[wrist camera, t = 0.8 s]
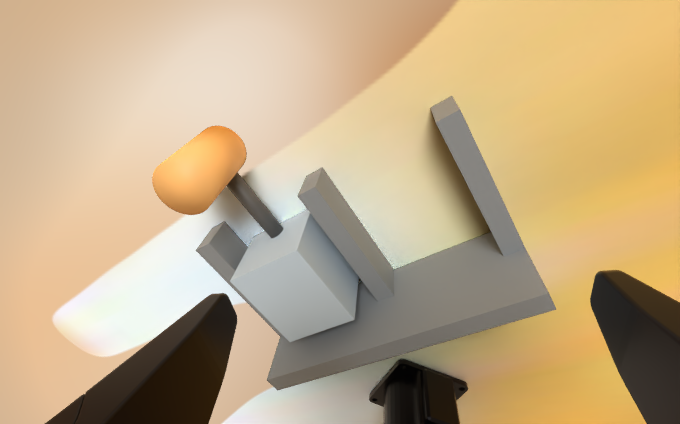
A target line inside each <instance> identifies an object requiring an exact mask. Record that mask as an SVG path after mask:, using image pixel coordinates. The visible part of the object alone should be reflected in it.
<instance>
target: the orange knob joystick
mask: <svg viewBox="0 0 680 424" xmlns="http://www.w3.org/2000/svg"><path fill="white" fill-rule="evenodd" d="M245 160H246V148H245V145H244V143H243V141H242V139H241V138H240V137H239V136H238V135H237V134H236V133H235V132H233V131H232V130H230V129H229V128H226V127H222V126H211V127H209V128H207V129H205V130H204V131H202V132H201V133H200V134H199V135H197V136H196V137H195V138H193V139H192V140H191V141H190V142H188V143H187V144H186V145H184V146H183V147H182V148H181V149H179V150H178V151H177V152H175V153H174V154H173V155H171V156H170V157H169V158H168V159H166V160H165V161H164V162H162V163H161V164H160V165H159V166H158V167H157V168H156V169H155V171H154V173H153V177H152V181H153V187H154V190H155V192H156V194H157V196H158V197H159V198H160V199H161V201H162V202H163V203H165V204H166V205H167V206H168V207H169V208H171V209H173V210H175V211H177V212H179V213H183V214H187V215H195V214H200V213H202V212H204V211H205V210H207V209H208V208H209V206H210V205H211V204H212V203H213V201H214V200H215V199H216V198H217V197H218V195H219V194H220V193H221V192H222V190H223V189H224V188H225V187H226V186H227V187H228V188H229V189H230V190H231V192H232V193H233V194H234V195H235V196H236V198H237V199H238V200H239V201H240V202H241V203H242V205H243V206H244V207H245V208H246V209H247V210H248V212H249V213H250V214H251V215H252V216H253V217H254V219H255V220H256V221H257V222H258V223H259V224H260V226H261V227H262V228H263V229H264V230H265V231H264V232H262V233H260V234H258V235H256V236H254V237H253V239H252V241H251V243H250V245H249V247H248V249H247V250H246V252H245V254H244V256H243V258H242V260H241V262H240V263H239V265H238V267H237V269H236V271H235V273H234V275H233V276H232V278H231V280H230V282H231V283H232V284H233V285H234V286H235V287H236V288H237V289H238V290H239V291H240V292H241V293H242V294H243V295H244V296H245V297H246V298H247V299H248V300H249V301H250V302H251V303H252V304H253V305H254V306H255V307H256V308H257V309H258V310H259V311H260V312H261V313H262V314H263V315H264V317H265V318H266V319H267V320H268V321H269V322H270V323H271V324H272V325H273V326H274V327H275V328H276V329H277V330H278V331H279V332H280V333H281V334H282V335H283V336H284V337H285V338H286V339H287V340H288V341H289V342H292V341H295V340H298V339H301V338H304V337H306V336H309V335H312V334H315V333H318V332H321V331H324V330H327V329H329V328H332V327H335V326H338V325H341V324H344V323H347V322H349V321H352V320H355V310H356V300H357V290H358V280H359V276H358V275H357V274H356V272H355V271H354V270H353V268H352V267H351V266H350V264H349V263H348V262H347V260H346V259H345V258H344V256H343V255H342V254H341V252H340V251H339V250H338V249H337V247H336V246H335V245H334V243H333V242H332V241H331V239H330V238H329V237H328V235H327V234H326V233H325V231H324V230H323V229H322V227H321V226H320V225H319V224H318V222H317V221H316V220H315V218H314V217H313V216H312V214H311V213H310V212H309V210H308V209H307V210H305V211H303V212H301V213H300V214H298V215H296V216H294V217H292V218H290V219H288V220H286V221H284V222H282V223H280V224H279V222H278V221H277V220H276V219H275V217H274V216H273V215H272V214H271V213H270V211H269V210H268V209H267V208H266V206H265V205H264V204H263V203H262V202H261V200H260V199H259V198H258V197H257V196H256V194H255V193H254V192H253V191H252V189H251V188H250V187H249V186H248V185H247V183H246V182H245V181H244V180H243V178H242V177H241V176H240V175H239V174H238V171H239V169H240V168H241V167H242V166H243V164H244V163H245Z"/></svg>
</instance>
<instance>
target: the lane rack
mask: <svg viewBox="0 0 680 424" xmlns="http://www.w3.org/2000/svg"><path fill="white" fill-rule="evenodd" d="M431 111H432V114H433V117H434V119H435V122H436V124H437V126H438V128H439V130H440V132H441V134H442V136H443V138H444V140H445V142H446V144H447V146H448V148H449V150H450V152H451V154H452V156H453V158H454V160H455V162H456V164H457V166H458V167H459V169H460V171H461V173H462V175H463V177H464V179H465V181H466V183H467V185H468V187H469V189H470V191H471V193H472V195H473V197H474V199H475V201H476V203H477V205H478V207H479V209H480V211H481V213H482V215H483V217H484V219H485V220H486V222H487V224H488V226H489V228H490V230H491V232H489V233H487V234H484V235H482V236H479V237H477V238H474V239H471V240H469V241H466V242H464V243H461V244H459V245H456V246H453V247H451V248H448V249H446V250H443V251H441V252H438V253H436V254H433V255H430V256H428V257H425V258H423V259H420V260H418V261H415V262H412V263H410V264H407V265H405V266H402V267H400V268H397V269H394V270H393V268H392V267H391V265H390V264H389V262H388V261H387V260H386V258H385V257H384V255H383V254H382V252H381V251H380V250H379V248H378V247H377V245H376V244H375V242H374V241H373V239H372V238H371V237H370V235H369V234H368V232H367V231H366V229H365V228H364V227H363V225H362V224H361V222H360V221H359V219H358V218H357V216H356V215H355V214H354V212H353V211H352V209H351V208H350V206H349V205H348V204H347V202H346V201H345V199H344V198H343V196H342V195H341V193H340V192H339V191H338V189H337V188H336V186H335V185H334V183H333V182H332V181H331V179H330V178H329V176H328V175H327V173H326V172H325V171H324V169H323V168H320V169H319V170H317V171H315V172H313V173H311V174H310V175H308V176H306V178H305V180H304V183H303V185H302V187H301V190H300V192H299V194H298V197H299V199H300V200H301V201H302V202H303V204H304V205H305V206H306V208H307V209H308V210H309V212H310V213H311V214H312V216H313V217H314V218H315V220H316V221H317V222H318V224H319V225H320V226H321V227H322V229H323V230H324V231H325V233H326V234H327V235H328V237H329V238H330V239H331V241H332V242H333V243H334V245H335V246H336V247H337V249H338V250H339V251H340V252H341V254H342V255H343V256H344V258H345V259H346V260H347V262H348V263H349V264H350V266H351V267H352V268H353V270H354V271H355V272H356V274H357V275H358V276H359V277H360V279H361V280H362V281H363V282H361V283H359V284H358V290H357V300H356V310H355V320H352V321H349V322H347V323H344V324H341V325H338V326H335V327H332V328H329V329H327V330H324V331H321V332H318V333H315V334H312V335H309V336H306V337H304V338H301V339H298V340H295V341H292V342H289V341H288V340H287V339H286V338H285V337H284V336H283V335H282V334H281V333H280V332H279V331H278V330H277V329H276V328H275V327H274V326H273V325H272V324H271V323H270V322H269V321H268V320H267V319H266V318H265V317H264V315H263V314H262V313H261V312H260V311H259V310H258V309H257V308H256V307H255V306H254V305H253V304H252V303H251V302H250V301H249V300H248V299H247V298H246V297H245V296H244V295H243V294H242V293H241V292H240V291H239V290H238V289H237V288H236V287H235V286H234V285H233V284H232V283H231V282H230V280H231V278H232V276H233V275H234V273H235V271H236V269H237V267H238V265H239V263H240V262H241V260H242V258H243V256H244V254H245V252H246V250H247V249H248V247H247V246H246V245H245V244H244V243H243V242H242V241H241V239H240V238H239V237H238V236H237V235H236V234H235V233H234V232H233V231H232V229H231V228H230V227H229V226H228V225H227V224H226V223H225V222H223V223H221V224H219V225H217V226H215V227H214V228H212V229H211V230H210V232H209V233H208V235H207V236H206V237H205V239H204V240H203V241H202V243H201V244H200V245H199V247H198V248H197V249H196V251H197V252H198V253H199V254H200V255H201V256H202V257H203V258H204V259H205V260H206V261H207V262H208V263H209V264H210V265H211V266H212V267H213V268H214V269H215V270H216V271H217V272H218V273H219V274H220V276H221V277H222V278H223V279H224V280H225V281H226V282H227V283H228V284H229V285H230V286H231V287H232V288H233V289H234V290H235V291H236V292H237V293H238V294H239V295H240V296H241V297H242V298H243V299H244V300H245V301H246V302H247V303H248V304H249V305H250V306H251V307H252V308H253V309H254V310H255V311H256V312H257V313H258V314H259V315H260V316H261V317H262V318H263V319H264V320H265V321H266V322H267V323H268V324H269V325H270V326H271V327H272V329H273V330H274V331H276V333H277V334H278V335H279V336H280V339H279V343H278V346H277V349H276V353H275V355H274V359H273V362H272V365H271V368H270V372H269V375H268V378H267V381H268V382H269V383H270V384H271V385H273V386H274V387H275V388H276V389H277V390H281V389H284V388H288V387H291V386H294V385H298V384H301V383H305V382H308V381H312V380H315V379H319V378H322V377H325V376H329V375H332V374H336V373H339V372H343V371H346V370H349V369H353V368H356V367H360V366H363V365H367V364H370V363H374V362H377V361H380V360H384V359H387V358H391V357H394V356H398V355H401V354H405V353H408V352H411V351H415V350H418V349H422V348H425V347H429V346H432V345H436V344H439V343H442V342H446V341H449V340H453V339H456V338H460V337H463V336H466V335H470V334H473V333H477V332H480V331H484V330H487V329H491V328H494V327H497V326H501V325H504V324H508V323H511V322H515V321H518V320H522V319H525V318H528V317H532V316H535V315H539V314H542V313H546V312H549V311H552V310H556V307H555V305H554V303H553V301H552V299H551V297H550V295H549V292H548V291H547V289H546V287H545V285H544V283H543V281H542V279H541V277H540V275H539V273H538V272H537V270H536V268H535V266H534V264H533V262H532V260H531V258H530V256H529V254H528V253H527V251H526V249H525V247H524V245H523V242H522V240H521V238H520V236H519V234H518V232H517V230H516V228H515V225H514V223H513V221H512V219H511V217H510V215H509V213H508V211H507V208H506V206H505V204H504V202H503V200H502V198H501V196H500V194H499V191H498V189H497V187H496V185H495V183H494V181H493V179H492V177H491V174H490V172H489V170H488V168H487V166H486V164H485V162H484V160H483V157H482V155H481V153H480V151H479V149H478V147H477V145H476V142H475V140H474V138H473V136H472V134H471V132H470V130H469V128H468V125H467V123H466V121H465V119H464V117H463V115H462V113H461V111H460V109H459V107H458V105H457V104H456V102H455V100H454V99H453V97H452V96H451V97H449V98H447V99H445V100H443V101H442V102H440V103H438V104H436V105H434V106H433V107H431Z"/></svg>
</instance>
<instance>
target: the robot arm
mask: <svg viewBox="0 0 680 424" xmlns="http://www.w3.org/2000/svg"><path fill="white" fill-rule="evenodd" d="M590 302H591V307H592V310H593V312H594V315H595V317H596V319H597V322H598V324H599V327H600V329H601V331H602V334H603V336H604V339H605V341H606V343H607V346H608V348H609V351H610V353H611V356H612V358H613V360H614V363H615V365H616V367H617V369H618V372H619V374H620V376H621V377H622V379H623V381H624V383H625V385H626V387H627V389H628V391H629V392H630V394H631V396H632V398H633V400H634V401H635V403H636V405H637V407H638V409H639V410H640V412H641V414H642V416H643V418H644V419H645V421H646V423H647V424H680V302H678V301H676V300H674V299H672V298H670V297H669V296H667V295H665V294H663V293H661V292H659V291H657V290H656V289H654V288H652V287H650V286H648V285H646V284H644V283H643V282H641V281H639V280H637V279H635V278H633V277H631V276H630V275H628V274H626V273H624V272H622V271H619V270H609V271H600V272H598V273H597V274H596V276H595V280H594V284H593V289H592V293H591V298H590ZM236 325H237V315H236V312H235V310H234V308H233V306H232V304H231V302H230V299H229V297H228V296H227V295H226V294H224V293H220V294H211V295H209V296H208V297H207V298H205V299H204V300H203V301H201V302H200V303H199V304H198V305H196V306H195V307H194V308H193V309H191V310H190V311H189V312H187V313H186V314H185V315H184V316H182V317H181V318H180V319H178V320H177V321H176V322H175V323H173V324H172V325H171V326H170V327H168V328H167V329H166V330H164V331H163V332H162V333H161V334H159V335H158V336H157V337H156V338H154V339H153V340H152V341H150V342H149V343H148V344H147V345H145V346H144V347H143V348H141V349H140V350H139V351H138V352H136V353H135V354H134V355H133V356H131V357H130V358H129V359H127V360H126V361H125V362H124V363H122V364H121V365H120V366H119V367H117V368H116V369H115V370H113V371H112V372H111V373H110V374H108V375H107V376H106V377H104V378H103V379H102V380H101V381H99V382H98V383H97V384H96V385H94V386H93V387H92V388H90V389H89V390H88V391H87V392H86V394H83V395H82V396H80V397H79V398H78V399H76V400H75V401H74V402H73V403H71V404H70V405H69V406H67V407H66V408H65V409H64V410H62V411H61V412H60V413H58V414H57V415H56V416H54V417H53V418H52V419H51V420H49V421H48V422H47V423H45V424H208V423H209V420H210V417H211V414H212V411H213V408H214V405H215V403H216V400H217V397H218V394H219V391H220V388H221V385H222V382H223V379H224V375H225V372H226V368H227V363H228V359H229V355H230V350H231V346H232V342H233V338H234V333H235V329H236ZM467 390H468V387H467V383H466V382H464V381H461V380H459V379H456V378H453V377H450V376H448V375H445V374H442V373H440V372H437V371H434V370H432V369H429V368H426V367H424V366H421V365H418V364H415V363H413V362H410V361H407V360H404V359H401V360H399V361H397V363H396V364H395V365H394V366H393V367H392V369H391V370H390V371H389V372H388V373H387V374H386V376H385V377H384V378H383V379H382V380H381V381H380V383H379V384H378V385H377V386H376V387H375V388H374V390H373V391H372V392H371V393H370V395H369V400H370V402H372V403H375V404H378V405H381V406H384V424H460V421H459V415H458V409H457V403H456V400H457V399H459V398H460V397H461V396H462V395H463V394H464V393H465V392H466V391H467Z"/></svg>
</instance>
